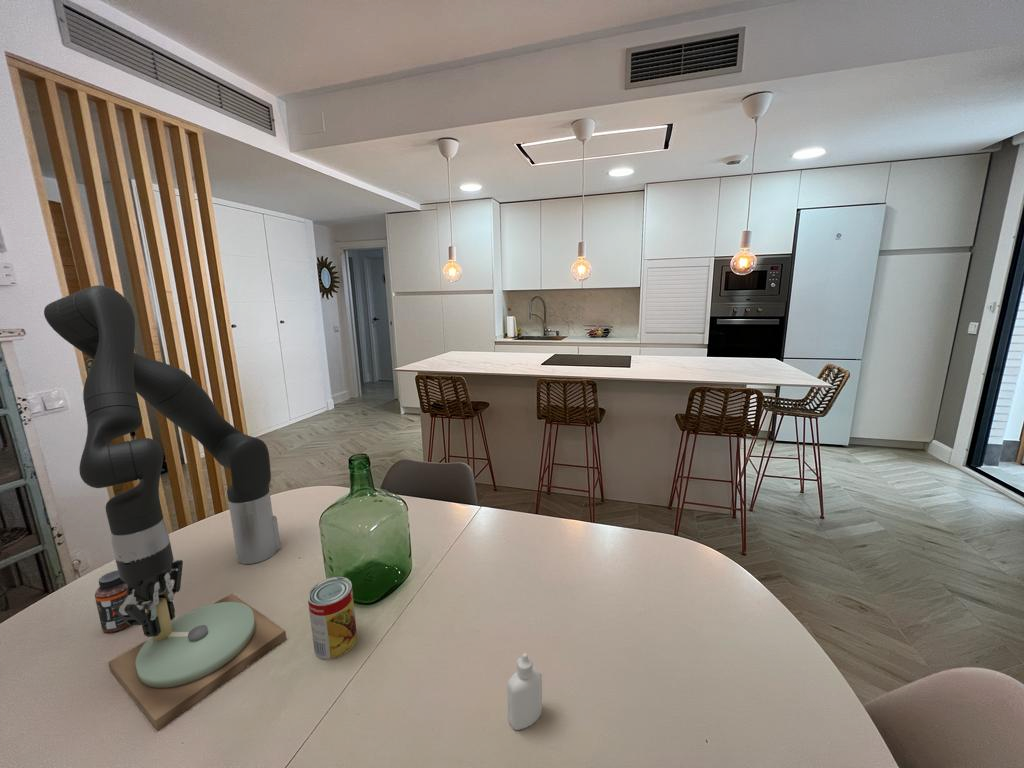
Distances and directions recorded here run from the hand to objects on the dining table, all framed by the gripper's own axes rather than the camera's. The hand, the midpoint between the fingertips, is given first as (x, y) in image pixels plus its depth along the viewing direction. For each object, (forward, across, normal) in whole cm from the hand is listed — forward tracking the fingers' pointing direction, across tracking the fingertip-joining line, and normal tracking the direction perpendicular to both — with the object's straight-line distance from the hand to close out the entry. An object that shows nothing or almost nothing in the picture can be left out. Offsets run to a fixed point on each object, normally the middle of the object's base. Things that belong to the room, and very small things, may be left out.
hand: (161, 626), depth 79 cm
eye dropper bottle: (+6, +19, +68) cm, 71 cm away
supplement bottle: (+7, -9, -15) cm, 19 cm away
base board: (+6, +1, +7) cm, 9 cm away
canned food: (+6, 0, +32) cm, 33 cm away
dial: (+4, +1, +7) cm, 8 cm away
